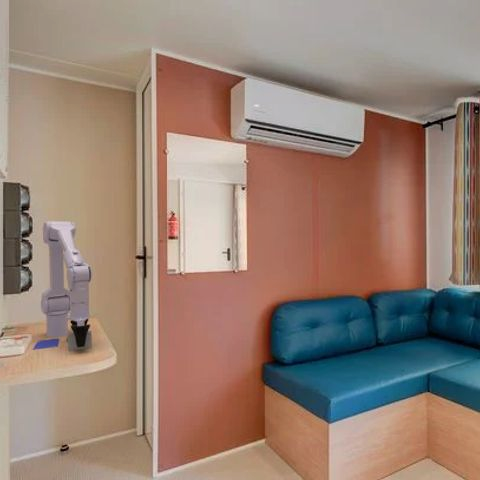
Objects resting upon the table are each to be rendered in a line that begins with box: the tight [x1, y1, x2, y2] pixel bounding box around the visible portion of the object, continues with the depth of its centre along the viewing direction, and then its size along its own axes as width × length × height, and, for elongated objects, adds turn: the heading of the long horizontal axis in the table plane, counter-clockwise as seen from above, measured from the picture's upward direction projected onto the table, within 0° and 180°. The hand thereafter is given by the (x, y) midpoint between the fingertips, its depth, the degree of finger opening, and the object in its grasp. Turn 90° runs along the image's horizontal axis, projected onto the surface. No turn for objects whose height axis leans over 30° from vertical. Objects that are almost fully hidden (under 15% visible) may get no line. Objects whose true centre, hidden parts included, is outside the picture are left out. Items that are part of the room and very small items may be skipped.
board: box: [67, 330, 93, 352], centre depth 119 cm, size 2×7×6 cm, turn 116°
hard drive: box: [32, 338, 60, 351], centre depth 125 cm, size 2×8×12 cm
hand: (80, 343), depth 119 cm, fingers open, 7 cm apart
